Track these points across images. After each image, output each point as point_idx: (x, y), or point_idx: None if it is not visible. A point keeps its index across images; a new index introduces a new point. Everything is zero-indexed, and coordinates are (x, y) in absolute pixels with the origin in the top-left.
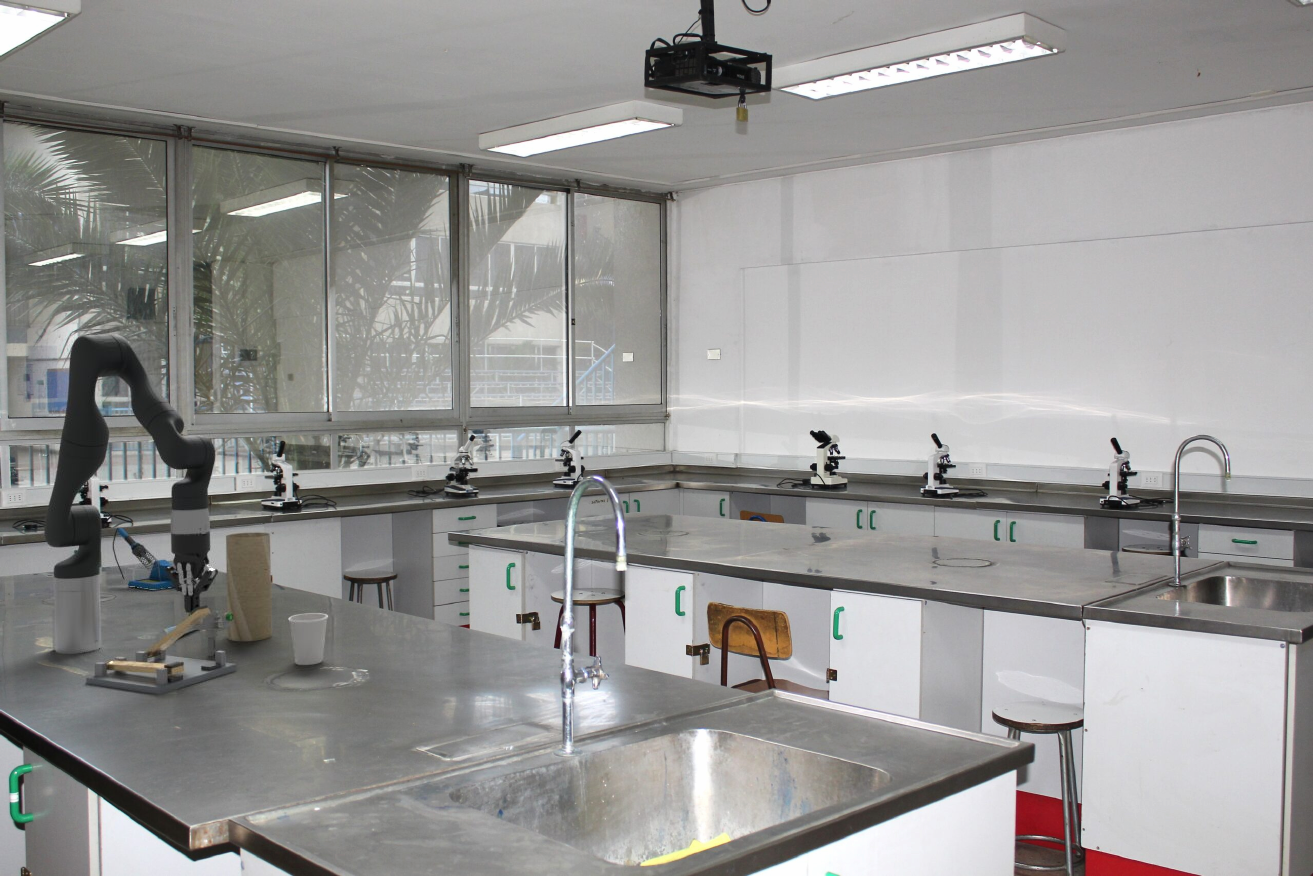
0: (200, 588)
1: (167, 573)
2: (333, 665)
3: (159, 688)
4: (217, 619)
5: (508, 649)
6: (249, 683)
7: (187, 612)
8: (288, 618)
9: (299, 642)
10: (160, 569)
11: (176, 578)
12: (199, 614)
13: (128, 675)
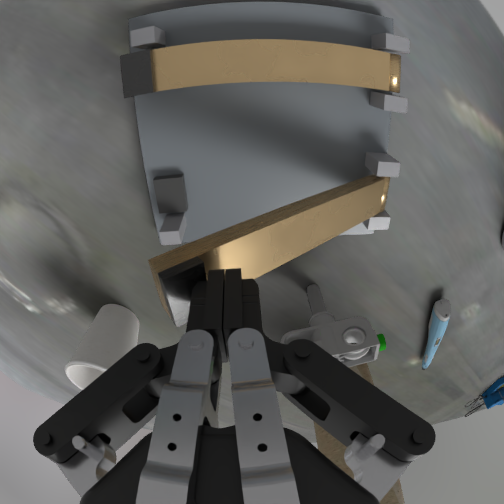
0: (113, 365)
1: (409, 418)
2: (74, 314)
3: (130, 19)
4: None
5: (37, 385)
6: (61, 184)
7: (233, 268)
8: None
9: (94, 331)
10: (501, 397)
11: (337, 410)
12: (149, 263)
13: None
